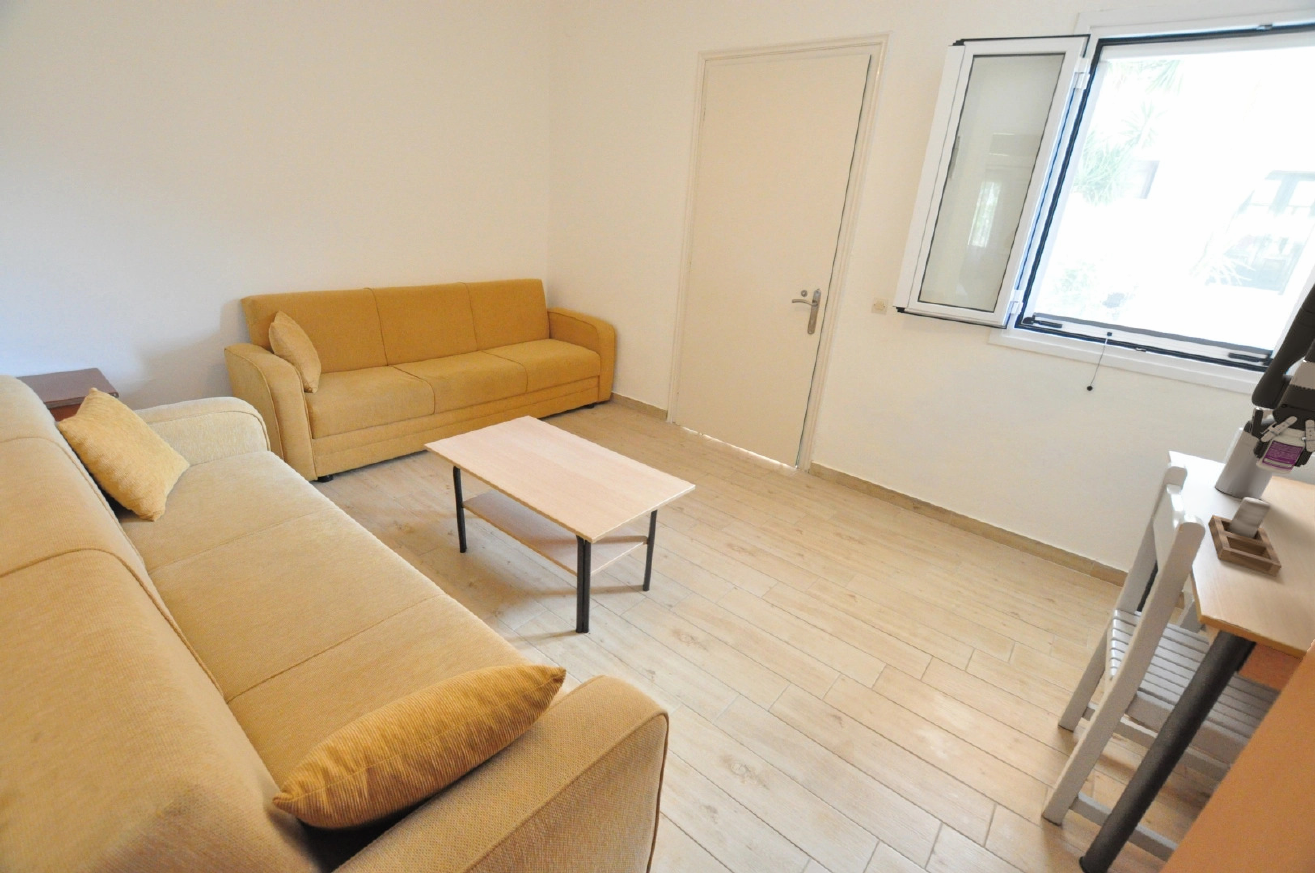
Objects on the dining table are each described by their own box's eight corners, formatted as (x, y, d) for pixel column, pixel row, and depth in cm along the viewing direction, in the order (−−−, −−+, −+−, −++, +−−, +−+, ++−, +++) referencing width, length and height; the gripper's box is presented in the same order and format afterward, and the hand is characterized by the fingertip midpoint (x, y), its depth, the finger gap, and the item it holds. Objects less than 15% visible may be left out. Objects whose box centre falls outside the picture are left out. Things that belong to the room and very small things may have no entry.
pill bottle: (1296, 476, 119) (1320, 434, 115) (1267, 472, 120) (1290, 430, 116) (1276, 466, 124) (1298, 425, 120) (1248, 462, 125) (1269, 422, 121)
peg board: (1208, 523, 137) (1226, 487, 133) (1258, 537, 132) (1279, 500, 128) (1218, 558, 122) (1239, 518, 118) (1275, 576, 117) (1300, 535, 113)
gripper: (1362, 391, 114) (1319, 467, 120) (1264, 375, 122) (1229, 447, 128) (1375, 398, 108) (1329, 477, 114) (1271, 380, 116) (1233, 455, 122)
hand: (1276, 461), depth 121 cm, fingers closed on pill bottle, 5 cm apart
